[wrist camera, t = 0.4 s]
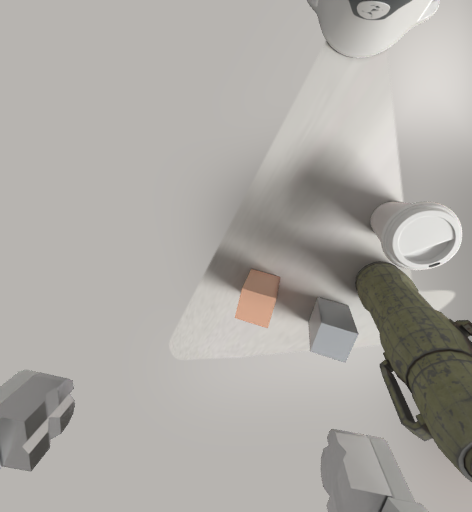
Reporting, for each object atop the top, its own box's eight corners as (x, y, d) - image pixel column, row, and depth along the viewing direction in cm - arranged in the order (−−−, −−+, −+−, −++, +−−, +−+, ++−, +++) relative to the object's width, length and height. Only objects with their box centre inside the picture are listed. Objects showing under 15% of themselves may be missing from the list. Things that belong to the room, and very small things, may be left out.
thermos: (422, 276, 50) (645, 474, 18) (372, 315, 55) (478, 530, 22) (387, 246, 50) (548, 392, 18) (339, 287, 54) (399, 465, 22)
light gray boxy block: (317, 297, 56) (321, 322, 47) (348, 306, 55) (358, 334, 46) (308, 322, 58) (310, 351, 49) (337, 331, 57) (345, 362, 48)
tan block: (251, 268, 57) (242, 288, 48) (280, 277, 57) (276, 298, 47) (244, 294, 60) (234, 317, 50) (272, 302, 59) (267, 328, 50)
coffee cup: (359, 245, 51) (382, 274, 37) (363, 194, 48) (389, 205, 34) (416, 244, 49) (462, 275, 35) (423, 191, 46) (477, 201, 32)
